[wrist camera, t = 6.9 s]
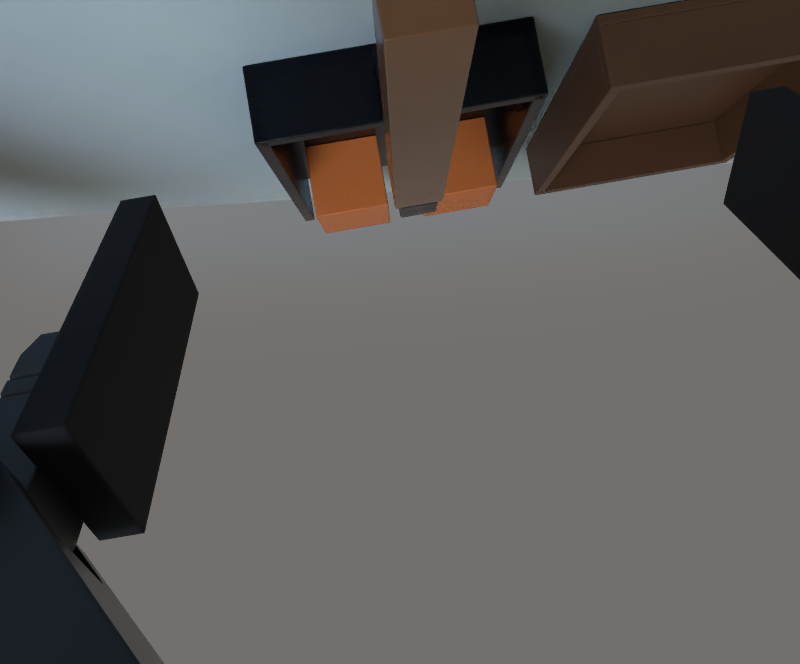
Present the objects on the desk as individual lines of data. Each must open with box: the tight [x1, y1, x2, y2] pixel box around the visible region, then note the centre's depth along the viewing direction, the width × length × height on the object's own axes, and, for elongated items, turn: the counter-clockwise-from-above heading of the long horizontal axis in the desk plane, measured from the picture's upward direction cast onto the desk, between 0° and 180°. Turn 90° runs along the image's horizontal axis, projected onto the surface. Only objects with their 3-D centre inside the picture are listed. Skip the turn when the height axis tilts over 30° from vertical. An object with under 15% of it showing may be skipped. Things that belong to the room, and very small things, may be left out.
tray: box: [526, 0, 800, 195], centre depth 37 cm, size 17×14×4 cm
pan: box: [243, 0, 548, 221], centre depth 27 cm, size 29×13×8 cm, turn 0°
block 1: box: [305, 135, 390, 233], centre depth 38 cm, size 4×4×4 cm
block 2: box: [424, 117, 497, 216], centre depth 38 cm, size 4×4×4 cm
